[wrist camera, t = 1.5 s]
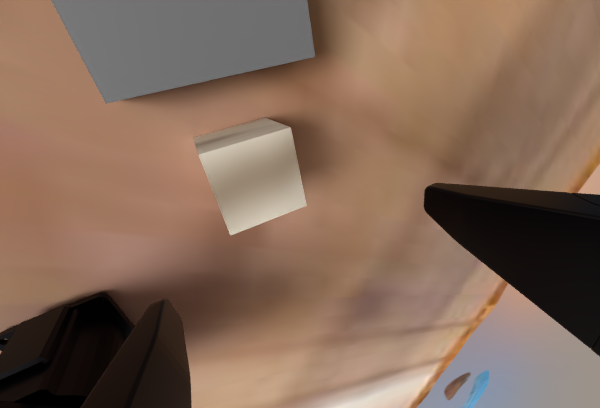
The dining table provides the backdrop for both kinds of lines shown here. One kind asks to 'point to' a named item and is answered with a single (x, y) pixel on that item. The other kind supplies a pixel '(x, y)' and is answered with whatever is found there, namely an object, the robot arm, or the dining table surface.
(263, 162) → the cube
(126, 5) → the base
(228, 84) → the dining table surface
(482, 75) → the dining table surface
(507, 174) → the dining table surface
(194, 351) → the dining table surface
